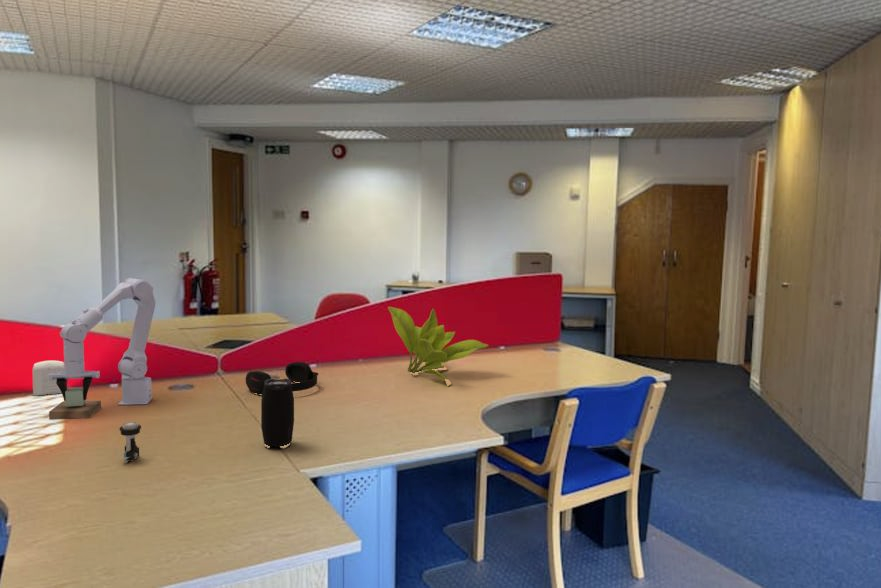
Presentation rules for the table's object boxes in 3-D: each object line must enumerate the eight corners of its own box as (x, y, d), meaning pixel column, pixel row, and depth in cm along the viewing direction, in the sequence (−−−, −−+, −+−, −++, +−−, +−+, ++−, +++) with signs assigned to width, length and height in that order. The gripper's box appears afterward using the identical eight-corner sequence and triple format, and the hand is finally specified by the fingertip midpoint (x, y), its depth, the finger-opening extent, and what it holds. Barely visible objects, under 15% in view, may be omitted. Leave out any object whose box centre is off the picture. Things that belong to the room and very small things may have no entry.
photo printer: (65, 390, 243) (64, 358, 242) (66, 393, 240) (65, 360, 238) (33, 394, 238) (31, 360, 236) (33, 396, 234) (31, 363, 233)
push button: (134, 464, 175) (133, 428, 174) (114, 464, 175) (113, 428, 173) (145, 455, 181) (144, 421, 180) (125, 455, 181) (124, 420, 180)
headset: (266, 378, 272) (266, 357, 271) (327, 382, 268) (327, 361, 267) (236, 396, 244) (236, 373, 243) (304, 400, 241) (304, 377, 240)
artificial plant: (420, 408, 257) (466, 350, 251) (351, 338, 274) (393, 282, 268) (462, 402, 295) (502, 352, 289) (399, 341, 312) (436, 292, 306)
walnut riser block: (101, 409, 224) (100, 400, 224) (89, 419, 212) (89, 410, 212) (63, 410, 222) (62, 401, 221) (49, 420, 210) (48, 411, 210)
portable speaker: (256, 444, 193) (256, 380, 191) (285, 438, 199) (286, 375, 197) (269, 452, 186) (269, 386, 184) (298, 446, 192) (299, 381, 190)
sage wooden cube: (85, 401, 220) (84, 387, 219) (83, 405, 215) (82, 390, 215) (68, 402, 218) (68, 388, 218) (65, 406, 214) (65, 391, 213)
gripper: (100, 356, 221) (101, 395, 223) (51, 358, 216) (53, 398, 218) (97, 360, 215) (98, 400, 216) (47, 362, 209) (48, 403, 211)
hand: (75, 399), depth 216 cm, fingers closed on sage wooden cube, 5 cm apart
